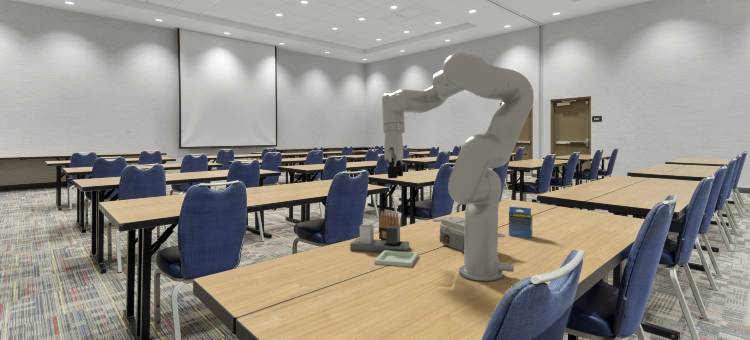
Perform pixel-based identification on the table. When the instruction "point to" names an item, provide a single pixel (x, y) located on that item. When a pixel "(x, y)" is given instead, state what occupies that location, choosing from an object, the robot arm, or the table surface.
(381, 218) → the ammunition clip
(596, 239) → the table surface
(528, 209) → the label tape box
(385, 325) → the table surface
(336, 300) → the table surface
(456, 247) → the electrical outlet
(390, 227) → the dark grey holder base
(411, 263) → the tray
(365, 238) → the grey rectangular block
